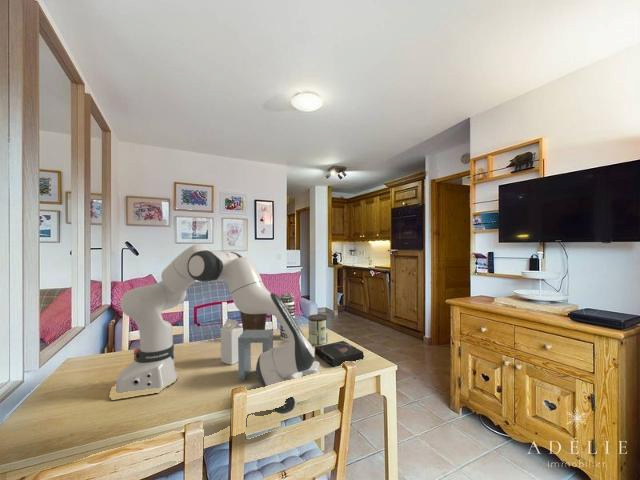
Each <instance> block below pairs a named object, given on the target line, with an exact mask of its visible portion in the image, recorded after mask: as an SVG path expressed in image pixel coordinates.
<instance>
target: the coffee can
mask: <svg viewBox="0 0 640 480" xmlns="http://www.w3.org/2000/svg"><path fill="white" fill-rule="evenodd" d="M308 341H309V343H310V344H311V346H312V347H317V346H322V345H326V344H329V343H328V315H326V314H321V313H318V314H316V313H315V314H311V315H308Z"/></svg>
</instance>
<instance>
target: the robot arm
mask: <svg viewBox="0 0 640 480" xmlns="http://www.w3.org/2000/svg"><path fill="white" fill-rule="evenodd" d="M196 281H198V282H203V283H206V282H210V283H211V282H212V283H213V282H215V283H216V282H225V284H226V285H227V286H228V288H229V293H230V295H231V299H232V301H233V303H234V305H235V308H237V310H240V311H241V312H243V313H246V314H267V315H271V316H274V317H275V318H276V319H277V321H278V322H279V324H280V326H281V325H282V327H283V329H284V330H285V332H286V334H287V335H288V337H289V340H287V342H283V344H280V345H278V346H276V347H273V348H272V349H270V350H268V351H266V352H264V353H263V352H262V353H260V354H259V355H258V357H257V358H258V359H257V361H256V365H255V366H256V367H255V373H256V376H257V379H258V381H259V383H260V385H261V386H262V388H264V387H265V386H268V385H271V384H275V383H278V382H282V381H286V380H291V379H295V378H299V377H303V376H306V375H310V374H314V373H318V372H320V371H321V369H320V367H321V366H320V362H319V361H315V358H316V355H315V349H314V348H313V347H314V346H312V345H311V344H310V343H309V339H307V338H306V336H305V335H304V333H303V331H302V330H301V328H300V326H299V325H298V323H297V322H296V320H295V317H294V318H293V317H292V315H291V313H290V312H289V310H288V309H287V307H286V306H285V304H284V303H283V301H282V300H281V297H280V296H279V295H278V294H277V293H273V292H272V293H271V291H269V290H268V289H267V288H266V287H265V284H264V282H263V280H262V277H261V275H260V273H259V271H258V269H257V266H256V265H255V264H254V263H253V261H252V260H251V259H250V258H248V257H243V256H242V255H241V254H239V253H237V252H233V251H228V250H222V249H221V250H210V248H208V247H207V246H206V245H203V244H200V243H198V244H192V245H191V246H189V247H188V248H186V249H184V250H183V251H182V252H181V253H179V254H178V256H176V257H175V258H174V259H173V260H172V261H171V262H169V264H168V265H167V266H166V267H165V268H164V269H163V270H162V271H161V281H159V282H157V283H154V284H148V285H142V286H138V287H135V288H133V289H130V290H129V291H126V292H124V294H123V295H122V297H121V300H120V310H121V311H122V312H123V314H124V315H126V316H127V317H128V318H131V319H132V320H133V321H134V322H135V324H136V325H137V328H138V332H139V345H140V346H139V347H140V348H139V347H135V349H134V350H133V361H131V362H130V363H129V364H128V365H127V366H126V367H124V368H123V369H122V370H121V371H120V373H119V374H118V376H117V379H116V383H115V384H116V392H117V393H123V392H128V391H137V390H146V389H153V388H155V389H156V388H157V389H159V390H160V389H162V388H163V387H165V386H167V385H169V384H171V383H172V382H173V381H175V380H176V379H177V377H178V375H177V371H176V367H175V361H174V360H175V346H174V345H175V344H174V341H173V340H174V339H173V334H174V333H173V325H172V324H171V323H170V322H169V321H168V320H164V318H163V316H162V312H163V311H167V310H169V309H172V308H175V307H177V306H178V305H180V304H182V303H184V301H185V300H186V298H187V290H188V288H190V287H191V286H192V285H193V284H194V282H196ZM240 311H239V312H240ZM320 373H321V372H320ZM177 380H178V379H177ZM298 402H299V400H298V401H297V398H296V397H290V398H288V399H286V401H285V403H286V404H284V405H283V406H281V407H279V408H275V409H272V410H273V411H274V412H275V413H277V414H281V415H283V414H288V413H290V412H292V411H293V410H294V409H295V408H296V406H297V405H298Z"/></svg>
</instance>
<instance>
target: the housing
mask: <svg viewBox="0 0 640 480" xmlns="http://www.w3.org/2000/svg"><path fill="white" fill-rule="evenodd" d="M251 344H262V353H264V352H266V351H268V350H270V349H272V348H274V330H273V329H265V330H245V331H244V332H243V333H242V334H241V335H240V336H239V337H238V362H237V363H238V367H237V368H238V381H239V380H244V381H245V380H246V379H247V377H248V375H249V374H250V372H251V370H252V353H251V352H252V351H251V350H252V345H251Z"/></svg>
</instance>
